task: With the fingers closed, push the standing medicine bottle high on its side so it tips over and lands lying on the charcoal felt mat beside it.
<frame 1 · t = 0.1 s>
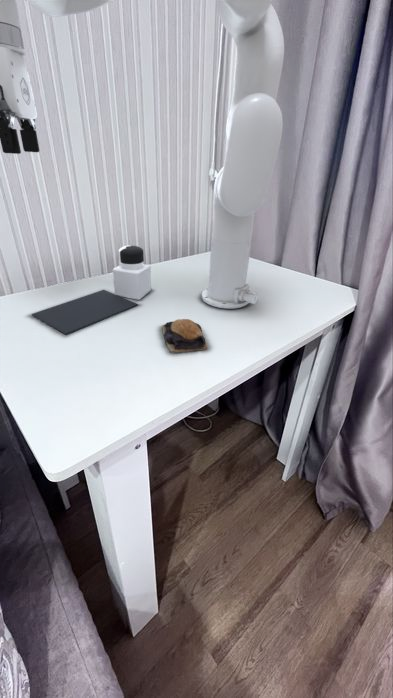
hand: (22, 152, 68), 31 cm above the table, tool pointing down, fingers open, 9 cm apart
mat: (87, 310, 78), on the table
medicine bottle: (133, 293, 88), on the table
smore: (183, 338, 69), on the table
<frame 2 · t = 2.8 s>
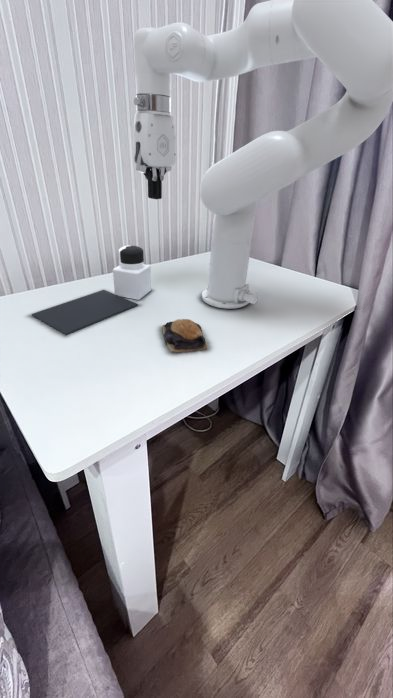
hand: (154, 198, 82), 22 cm above the table, tool pointing down, fingers closed
nothing on the table moved.
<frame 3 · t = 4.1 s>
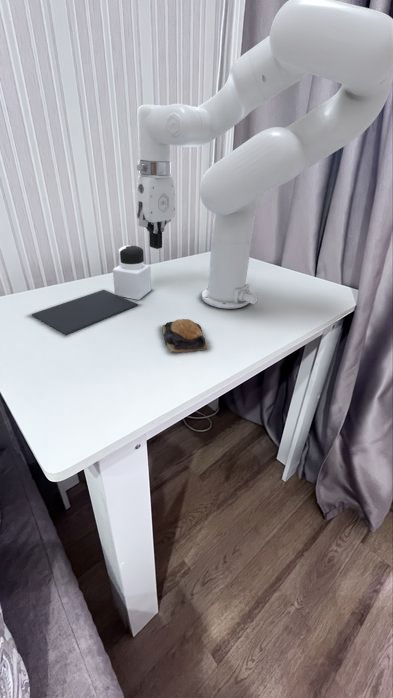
hand: (155, 247, 88), 10 cm above the table, tool pointing down, fingers closed
nothing on the table moved.
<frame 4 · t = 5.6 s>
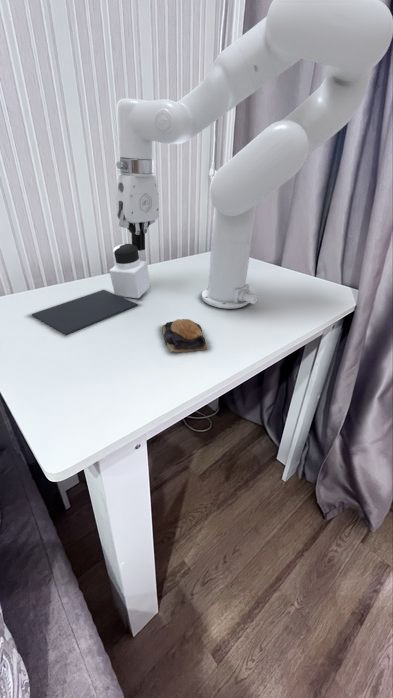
hand: (138, 249, 84), 11 cm above the table, tool pointing down, fingers closed
medicine bottle: (133, 291, 87), on the table, touching gripper
everything else where it was.
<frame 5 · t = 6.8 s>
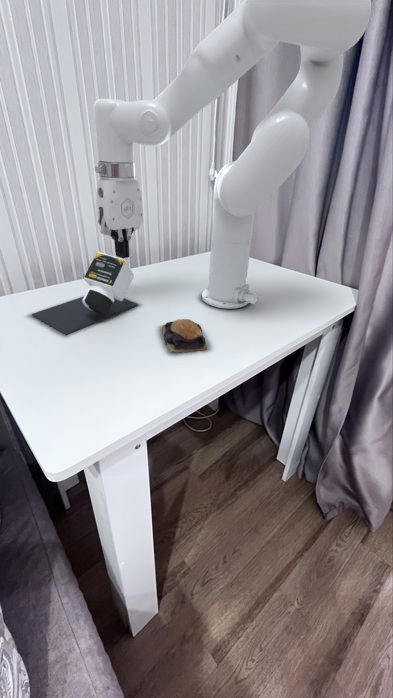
hand: (122, 256, 80), 10 cm above the table, tool pointing down, fingers closed
medicine bottle: (117, 262, 75), point 11 cm above the table, touching mat
everything else where it was.
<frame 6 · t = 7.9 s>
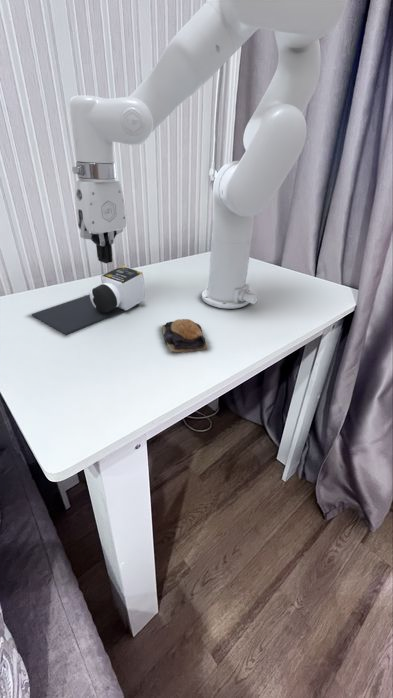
hand: (105, 261, 77), 10 cm above the table, tool pointing down, fingers closed
medicine bottle: (135, 281, 81), point 5 cm above the table, touching mat
everything else where it was.
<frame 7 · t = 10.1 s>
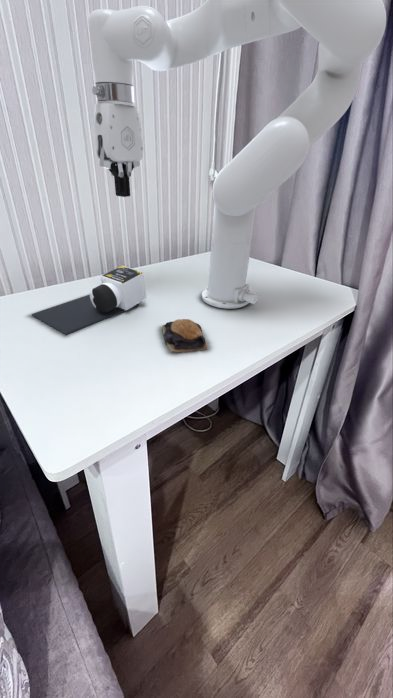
hand: (123, 195, 77), 23 cm above the table, tool pointing down, fingers closed
nothing on the table moved.
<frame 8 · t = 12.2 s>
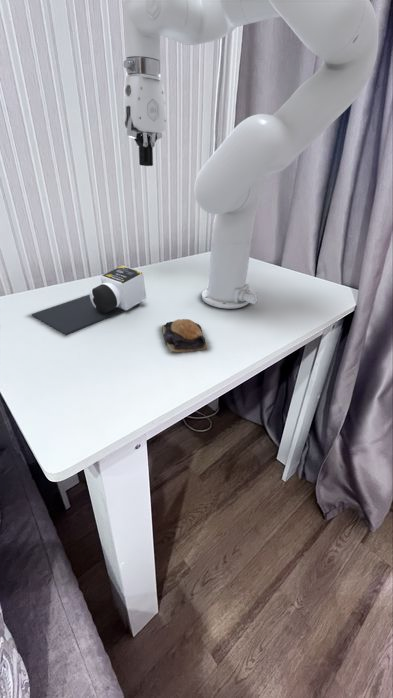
hand: (146, 165, 83), 29 cm above the table, tool pointing down, fingers closed
nothing on the table moved.
at the end: medicine bottle tilted 97°; medicine bottle touching mat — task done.
